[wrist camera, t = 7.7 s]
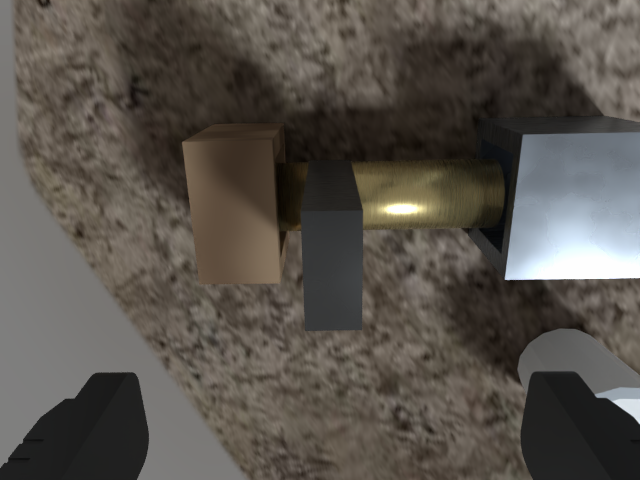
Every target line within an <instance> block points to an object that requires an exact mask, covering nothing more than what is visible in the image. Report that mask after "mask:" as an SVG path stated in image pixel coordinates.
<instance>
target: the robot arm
mask: <svg viewBox="0 0 640 480" xmlns="http://www.w3.org/2000/svg"><path fill="white" fill-rule="evenodd" d="M148 444H149V433H148V426H147V421H146V416H145V410H144V405H143V400H142V395H141V390H140V385H139V380H138V377H137V376H136V374H135V373H132V372H131V373H130V372H127V373H126V372H125V373H124V372H122V373H95V374H93V375H92V376H91V377H90V378H89V380H88V381H87V383H86V384H85V385H84V387H83V388H82V389H81V391H80V392H79V393H78V395H77V396H76V397H75V399H65V400H63V401H62V402H61V403H59V404H58V405H57V406H55V407H54V408H53V409H51V410H50V411H49V412H47V413H46V414H44V415H43V416H42V417H41V418H40V419H39V420H38V421H37V423H36V424H35V425H34V426H33V428H32V429H31V430H30V431H29V433H28V434H27V435H26V436H25V438H24V439H23V443H22V444H19V445H18V447H17V448H16V449H15V450H14V452H13V453H12V454H11V455H10V457H9V458H8V462H7V463H4V464H3V466H2V467H1V468H0V480H137V478H138V476H139V474H140V472H141V469H142V467H143V465H144V462H145V459H146V456H147V450H148ZM521 448H522V453H523V457H524V460H525V463H526V465H527V468H528V470H529V472H530V474H531V476H532V478H533V480H640V424H639V423H638V421H637V420H636V419H635V418H634V417H633V416H632V415H630V414H629V413H627V412H626V411H625V410H623V409H622V408H620V407H619V406H618V405H616V404H615V403H613V402H612V401H611V400H609V399H608V398H597V397H596V396H595V395H594V393H593V392H592V391H591V389H590V388H589V387H588V386H587V384H586V383H585V382H584V380H583V379H582V378H581V377H580V375H579V374H577V373H576V372H574V371H535V372H533V373H532V375H531V377H530V380H529V386H528V391H527V397H526V403H525V409H524V415H523V421H522V427H521Z"/></svg>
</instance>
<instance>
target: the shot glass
mask: <svg viewBox="0 0 640 480" xmlns="http://www.w3.org/2000/svg"><path fill="white" fill-rule="evenodd" d="M517 370H518V374H519V377H520V381H521V384H522V386H523V388H524V390H525V392H526V395H527V391H528V386H529V380H530V377H531V375H532V373H533V372H535V371H574V372H576V373H577V374H579V375H580V377H581V378H582V379H583V380H584V382H585V383H586V384H587V386H588V387H589V388H590V389H591V391H592V392H593V393H594V395H595V396H596V397H597V398H608V399H609V400H611V401H612V402H613V403H615V404H616V405H618V406H619V407H620V408H622V409H623V410H625V411H626V412H627V413H629V414H630V415H632V416H633V417H634V418H635V419H636V420H637V421H638V423H639V424H640V375H639V374H637V373H636V372H635V371H634V370H632V369H631V368H630V367H629V366H627V365H626V364H625V363H624V362H623V361H621V360H620V359H619V358H618V357H616V356H615V355H614V354H613V353H611V352H610V351H609V350H608V349H606V348H605V347H604V346H603V345H602V344H600V343H599V342H598V341H597V340H595V339H594V338H593V337H592V336H590V335H589V334H586V333H584V332H582V331H579V330H577V329H556V330H553V331H550V332H546V333H543V334H542V335H540V336H539V337H537V338H536V339H534V340H533V341H532V342H530V343H529V344H528V345H527V347H526V348H525V350H524V351H523V353H522V354H521V355H520V359H519V364H518V369H517Z"/></svg>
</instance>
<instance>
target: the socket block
mask: <svg viewBox="0 0 640 480" xmlns="http://www.w3.org/2000/svg"><path fill="white" fill-rule="evenodd" d="M182 146H183V154H184V162H185V170H186V178H187V186H188V194H189V203H190V211H191V219H192V227H193V235H194V243H195V251H196V259H197V267H198V276H199V284H263V283H280V282H281V277H282V272H283V268H284V263H285V258H286V253H287V248H288V244H289V239H290V236H289V231H279V220H278V202H277V184H276V166H275V163H286V152H285V132H284V123H244V124H213V125H212V126H210V127H208V128H206V129H204V130H203V131H201V132H199V133H197V134H195V135H193V136H192V137H190V138H188V139H186V140H184V141H183V142H182Z"/></svg>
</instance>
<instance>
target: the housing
mask: <svg viewBox="0 0 640 480" xmlns="http://www.w3.org/2000/svg"><path fill="white" fill-rule="evenodd" d="M475 159H496V160H497V161H498V162H499V164H500V166H501V169H502V172H503V177H504V187H505V195H504V206H503V211H502V215H501V218H500V220H499V222H498V224H497V225H496V226H495V227H493V228H469V232H468V236H469V237H470V238H471V239H472V240H473V242H474V243H475V244H476V245H477V247H478V248H479V249H480V250H481V251H482V253H483V254H484V255H485V256H486V257H487V259H488V260H489V261H490V262H491V264H492V265H493V266H494V267H495V268H496V270H497V271H498V272H499V273H500V275H501V276H502V277H503V278H504V279H505V280H528V279H594V278H640V122H635V121H630V120H625V119H619V118H614V117H609V116H566V117H520V118H479V124H478V134H477V145H476V156H475Z"/></svg>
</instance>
